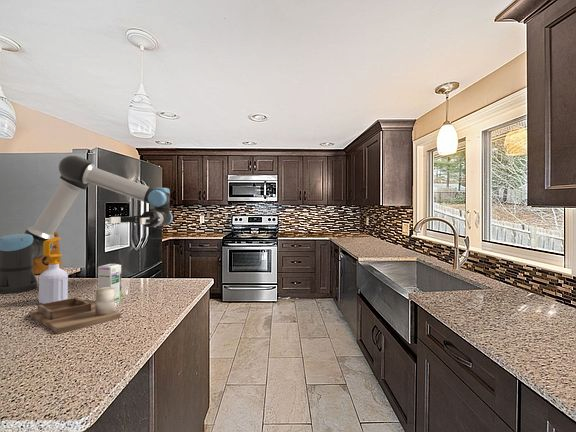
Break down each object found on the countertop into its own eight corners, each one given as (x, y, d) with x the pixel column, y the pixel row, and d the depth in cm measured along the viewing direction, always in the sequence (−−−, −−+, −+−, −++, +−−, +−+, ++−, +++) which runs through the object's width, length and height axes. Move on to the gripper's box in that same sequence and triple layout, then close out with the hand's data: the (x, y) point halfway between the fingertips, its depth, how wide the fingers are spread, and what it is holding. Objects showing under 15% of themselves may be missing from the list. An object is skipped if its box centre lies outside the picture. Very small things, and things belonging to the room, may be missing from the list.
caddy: (29, 315, 108) (29, 287, 107) (87, 303, 122) (87, 278, 122) (58, 334, 93) (58, 301, 93) (120, 317, 108) (121, 289, 107)
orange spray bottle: (61, 273, 172) (62, 232, 171) (32, 276, 164) (32, 233, 163) (60, 270, 179) (60, 231, 179) (31, 272, 171) (32, 231, 171)
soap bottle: (72, 299, 126) (73, 237, 126) (47, 305, 118) (48, 239, 117) (59, 296, 130) (59, 236, 129) (33, 302, 122) (34, 237, 121)
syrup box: (110, 304, 121) (111, 266, 121) (97, 303, 122) (97, 265, 122) (121, 300, 127) (121, 264, 126) (108, 299, 128) (109, 263, 128)
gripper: (176, 227, 154) (153, 230, 133) (127, 226, 157) (97, 228, 136) (176, 211, 154) (153, 212, 133) (127, 210, 156) (97, 211, 135)
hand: (125, 220), depth 134 cm, fingers open, 13 cm apart
